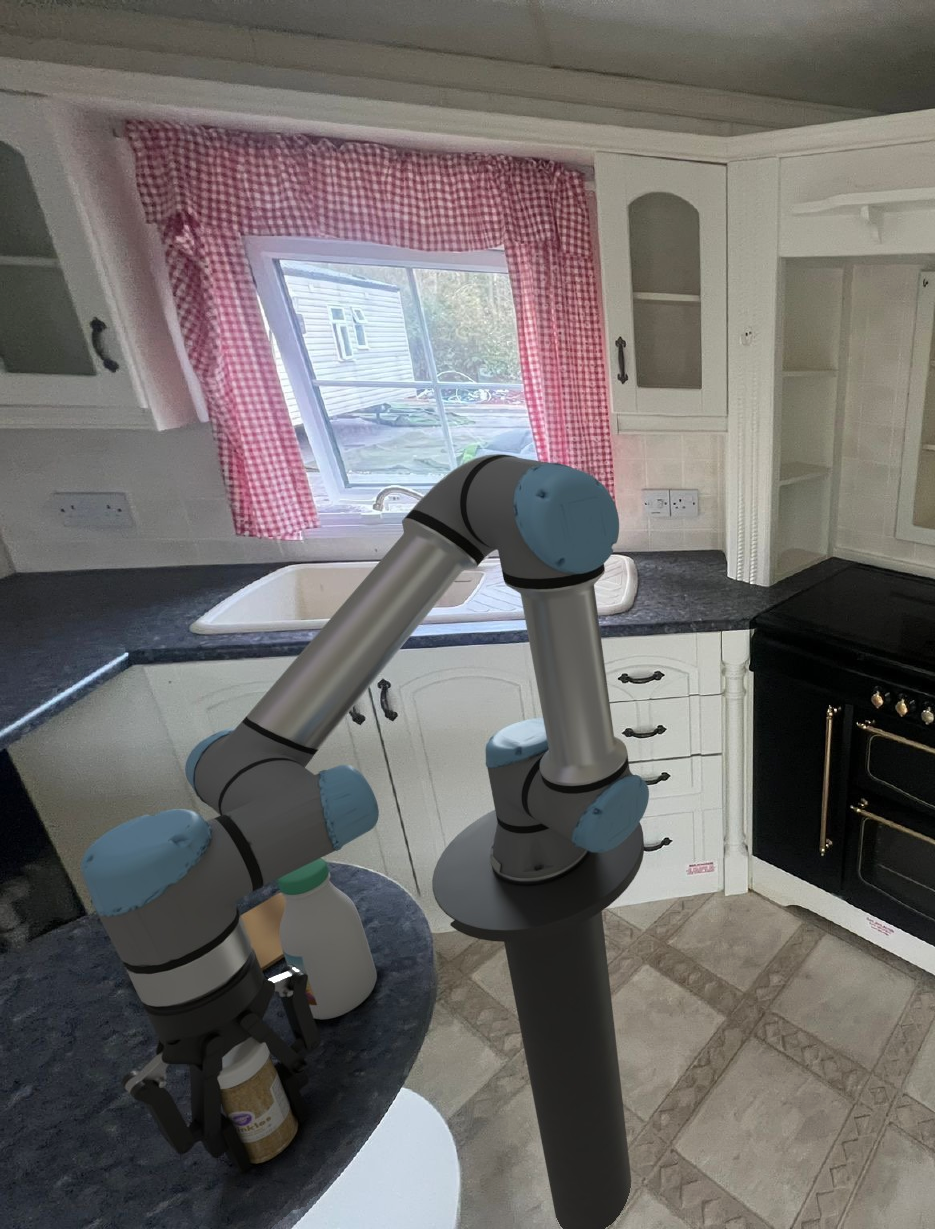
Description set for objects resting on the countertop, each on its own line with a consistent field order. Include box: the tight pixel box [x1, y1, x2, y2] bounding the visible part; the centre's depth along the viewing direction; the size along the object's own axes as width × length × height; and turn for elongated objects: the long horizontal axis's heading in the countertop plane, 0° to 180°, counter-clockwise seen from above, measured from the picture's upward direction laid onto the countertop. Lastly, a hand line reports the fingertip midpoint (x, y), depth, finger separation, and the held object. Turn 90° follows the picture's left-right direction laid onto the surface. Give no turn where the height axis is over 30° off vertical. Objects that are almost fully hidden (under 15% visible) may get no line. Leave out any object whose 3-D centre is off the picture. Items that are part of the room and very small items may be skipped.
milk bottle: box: [276, 857, 378, 1020], centre depth 79 cm, size 8×8×20 cm
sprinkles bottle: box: [217, 1036, 299, 1164], centre depth 65 cm, size 5×5×14 cm
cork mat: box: [240, 892, 286, 972], centre depth 87 cm, size 16×12×1 cm
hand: (270, 1136), depth 67 cm, fingers closed on sprinkles bottle, 4 cm apart
